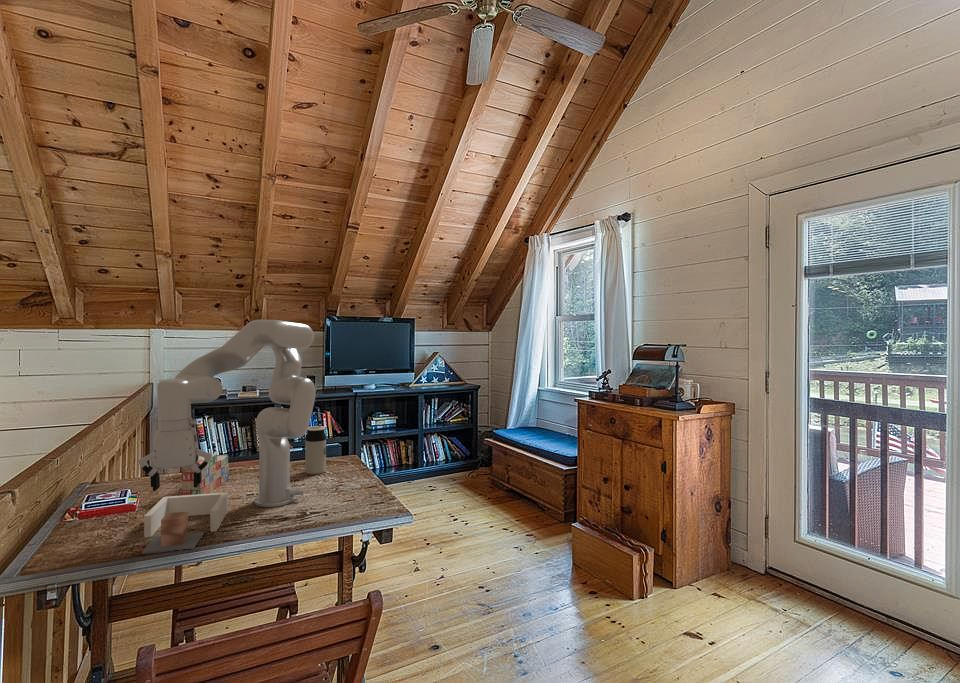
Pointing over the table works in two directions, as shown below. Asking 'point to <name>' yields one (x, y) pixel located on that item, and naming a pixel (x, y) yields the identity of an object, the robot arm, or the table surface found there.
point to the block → (174, 528)
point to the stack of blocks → (206, 475)
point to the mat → (188, 544)
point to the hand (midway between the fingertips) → (176, 487)
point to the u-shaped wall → (188, 509)
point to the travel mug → (315, 450)
